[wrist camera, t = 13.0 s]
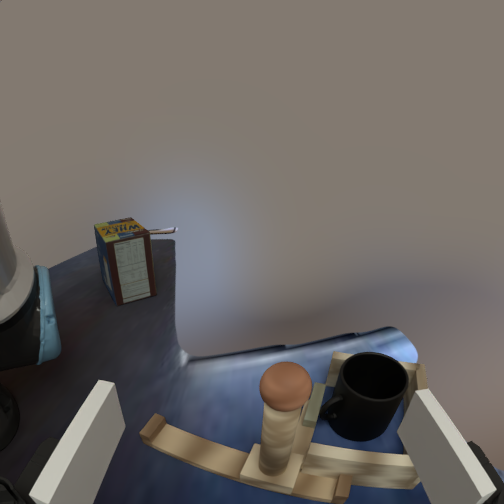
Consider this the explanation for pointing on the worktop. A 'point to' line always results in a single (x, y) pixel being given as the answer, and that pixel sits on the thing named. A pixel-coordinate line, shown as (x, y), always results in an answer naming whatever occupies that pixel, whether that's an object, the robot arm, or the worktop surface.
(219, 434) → the worktop surface
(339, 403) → the mug
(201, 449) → the rail
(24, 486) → the robot arm
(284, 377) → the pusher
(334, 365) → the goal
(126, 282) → the protein box
